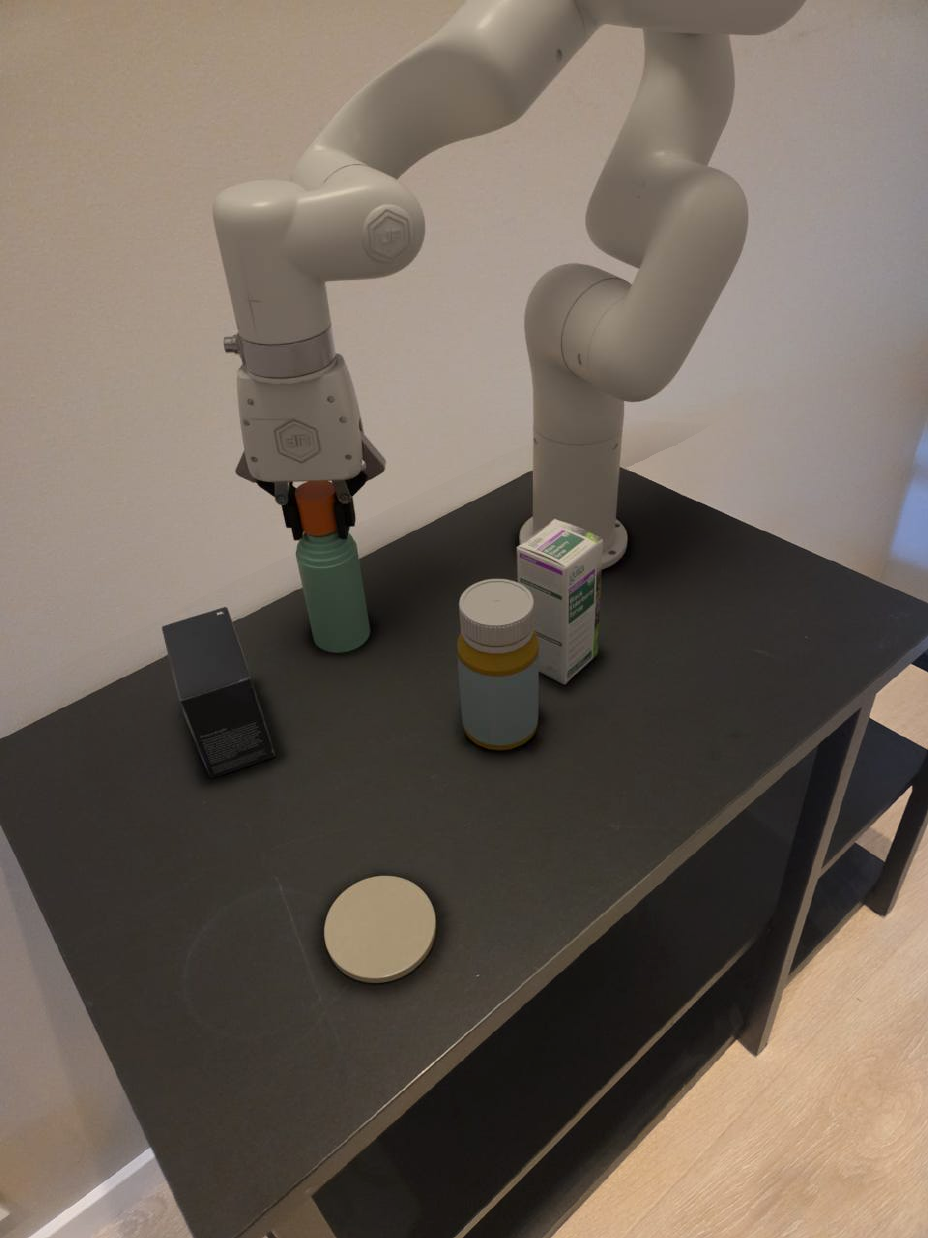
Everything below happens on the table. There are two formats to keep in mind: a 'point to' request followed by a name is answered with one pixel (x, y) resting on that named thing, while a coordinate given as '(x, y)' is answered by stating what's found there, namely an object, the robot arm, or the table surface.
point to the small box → (217, 692)
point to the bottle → (498, 664)
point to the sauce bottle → (333, 591)
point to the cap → (316, 507)
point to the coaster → (380, 929)
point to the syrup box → (563, 595)
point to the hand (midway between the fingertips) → (322, 530)
